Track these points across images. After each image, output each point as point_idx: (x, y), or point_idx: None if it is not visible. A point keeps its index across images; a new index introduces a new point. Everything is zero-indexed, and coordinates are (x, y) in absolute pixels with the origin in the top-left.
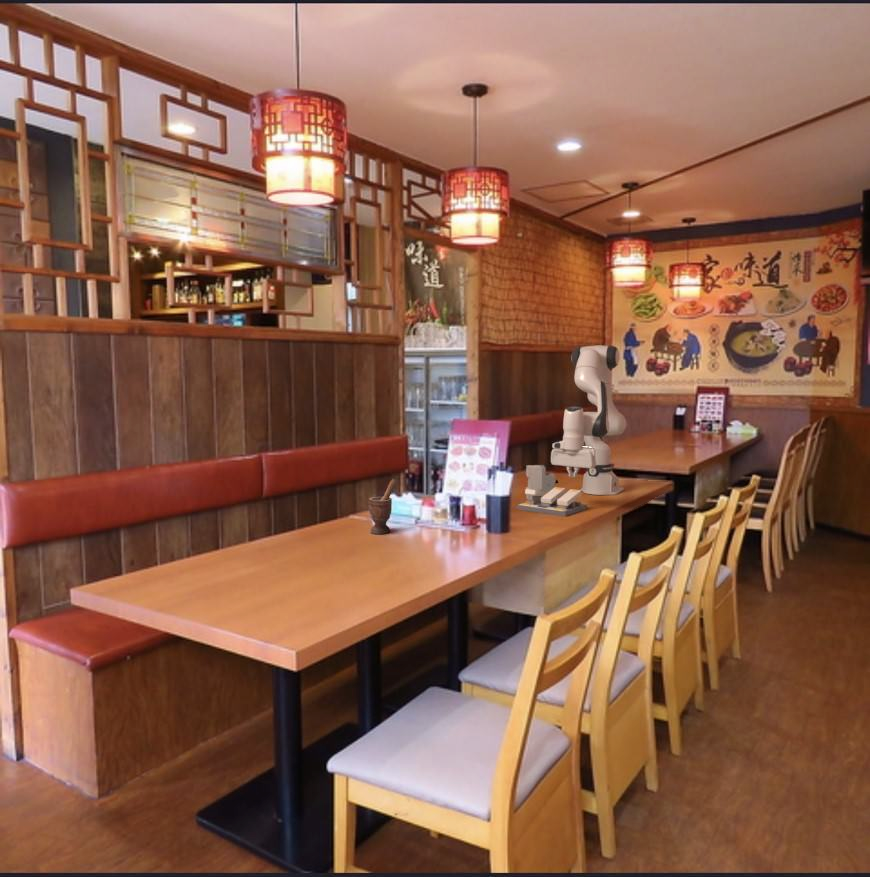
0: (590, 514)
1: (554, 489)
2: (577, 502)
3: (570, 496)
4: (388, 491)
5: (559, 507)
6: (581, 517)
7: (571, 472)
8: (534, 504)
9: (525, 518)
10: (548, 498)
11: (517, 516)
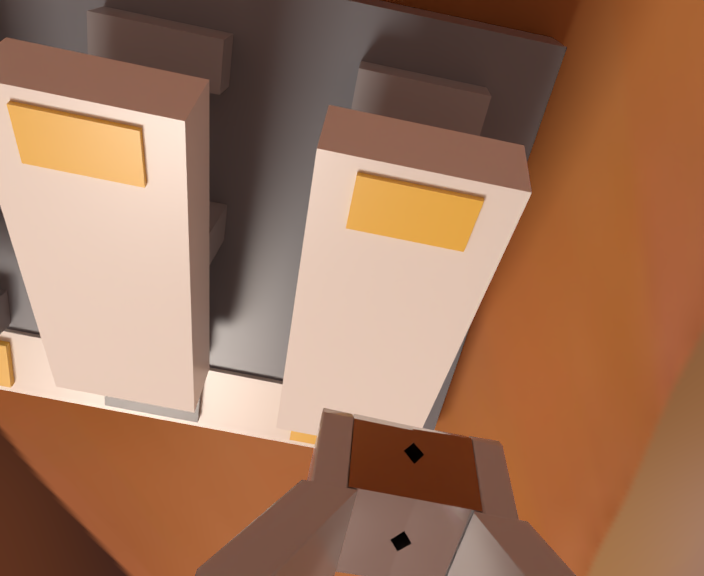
0: (631, 280)
1: (32, 170)
2: None
3: (408, 363)
4: None
5: None
6: (563, 416)
7: (346, 524)
8: (6, 304)
9: (178, 561)
10: (153, 395)
11: (96, 534)
